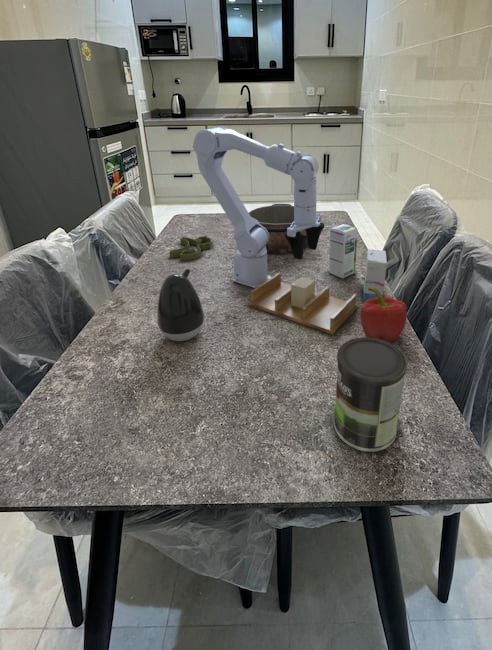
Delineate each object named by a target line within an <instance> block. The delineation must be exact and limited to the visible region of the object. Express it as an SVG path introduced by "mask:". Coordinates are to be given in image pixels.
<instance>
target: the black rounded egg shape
mask: <svg viewBox="0 0 492 650" xmlns="http://www.w3.org/2000/svg"><path fill="white" fill-rule="evenodd" d="M190 273H191V270H190V269H189V268H186V269H185V270H184V271H183V273H182V274H180V273H173V274H170V275H169V276H167V277H166V278H165V279H164V280H163V283H162V284H161V287H160V291H159V295H158V301H157V308H156V310H157V311H156V319H157V320H156V321H157V326H158V329H159V330H160V331H161V332H162V334H163V335H164V337H166V338H167V339H169V340H171V341H174V342H185V341H189V340H191V339H193V338H195V337H196V336H198V334H199V333H200V331H201V330H202V327H203V324H204V321H205V312H204V309H203V305H202V302H201V299H200V297H199V295H198V292H197V290H196V288H195V287H194V286H193V283H192V282H191V281H190V279H189V278H188V277H189V275H190Z"/></svg>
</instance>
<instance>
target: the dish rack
mask: <svg viewBox="0 0 492 650" xmlns="http://www.w3.org/2000/svg"><path fill="white" fill-rule="evenodd" d="M291 284H292V283H291ZM291 284H290V283H287V282H283V281H282V273H281V272H277V273H276V274H273V276H272V277H271V278H270V279H268V280H267V281H265V282H264V283H262V284H261V285H259V286H258V287H256V288H253V289H252V290H250V291H249V294H250V300H249V302H248V306H250V307H252V308H255V309H258V310H261V311H264V312H267V313H270V314H271V315H272V314H273V315H275V316H278V317H281V318H283V319H286V320H289V321H293V322H295V323H298V324H300V325H303V326H306V327H309V328H312V329H314V330H318V331H321V332H323V333H325V334H329V335H332V336H333V335H334V334H335V333H336V332H337V331H338V329H339V328H340V327H341V326H342V325H343V324H344V323H345V322H346V321H347V320H348V318H350V316H351V315H352V314H353V313H354V312H355V311H356V310H357V308H358V303H357V295H358V294H356V293H353V294H352V295H351V296H350V297H349V298H348V299H347V300H344V299H340V298H337V297H334V296H332V295H330V286H329V285H327V286H325V287H324V288H323V289H322V290H321V291H319V292H318V291H315V297H314V298H313V299H311V300H310V301H309V302H308V303H307V304H306V305H304V306H303V307H302V308H298V307H295V306H292V305H291Z"/></svg>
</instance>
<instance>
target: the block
mask: <svg viewBox="0 0 492 650" xmlns="http://www.w3.org/2000/svg"><path fill="white" fill-rule="evenodd" d="M315 292H316V280H315V279H311V278H307V277H303V276H301V277H299V278H297V280H295V281H294V282H292V283H291V305H292V306H295V307H298V308H302V307H303V306H304V305H306V304H307V303H308V302H309V301H310V300H311V299H313V298H314V297H315Z"/></svg>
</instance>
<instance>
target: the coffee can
mask: <svg viewBox="0 0 492 650" xmlns="http://www.w3.org/2000/svg"><path fill="white" fill-rule="evenodd" d="M336 359H337V368H336V387H335V405H334V417H333V427H334V430H335V432H336V434H337V436H338V437H339V439H341V441H342V442H343V443H345V444H346V445H347V446H349V447H351V448H353V449H355V450H358V451H361V452H367V453H375V452H380V451H383V450H385V449H387V448H388V447H390V446H391V445H392V444H393V443H394V442H395V440H396V437H397V432H398V431H397V430H398V424H399V423H398V421H399V415H400V409H401V402H402V395H403V389H404V382H405V376H406V372H407V370H408V360H407V357H406V354H405V353H404V352H403V351H402V350H401V349H400V348H398V347H397V346H396V345H394V344H393V343H391V342H387V341H384V340H381V339H377V338H370V337H368V336H363V337H355V338H351V339H349V340H347V341H345V342H344V343H342V344H341V345H340V346H339V348H338V350H337V353H336Z"/></svg>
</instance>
